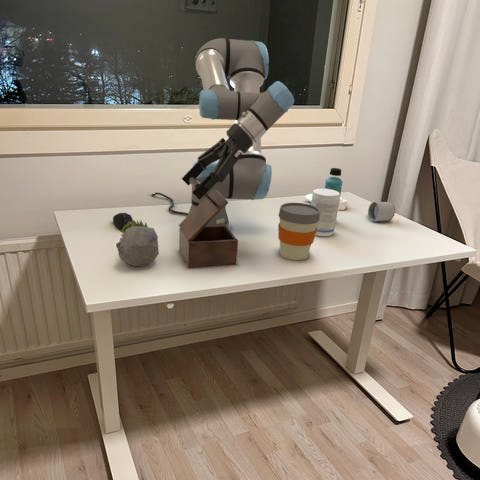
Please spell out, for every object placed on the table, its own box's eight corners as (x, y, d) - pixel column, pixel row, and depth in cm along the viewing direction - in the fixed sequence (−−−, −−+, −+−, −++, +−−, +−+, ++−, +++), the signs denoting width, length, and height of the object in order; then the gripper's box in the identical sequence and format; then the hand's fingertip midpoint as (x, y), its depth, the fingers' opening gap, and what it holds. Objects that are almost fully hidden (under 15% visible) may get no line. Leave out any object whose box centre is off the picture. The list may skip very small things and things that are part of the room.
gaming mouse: (119, 235, 156) (118, 223, 154) (111, 220, 168) (110, 209, 166) (138, 233, 158) (138, 222, 156) (129, 219, 170) (129, 208, 168)
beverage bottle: (317, 223, 181) (326, 169, 170) (319, 217, 186) (327, 165, 176) (335, 225, 180) (344, 171, 169) (336, 220, 185) (345, 167, 175)
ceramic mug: (394, 223, 187) (398, 203, 183) (376, 224, 184) (380, 204, 181) (379, 215, 195) (383, 196, 192) (361, 215, 193) (365, 196, 189)
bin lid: (216, 189, 142) (195, 167, 136) (228, 202, 131) (206, 179, 126) (180, 226, 144) (158, 206, 139) (189, 242, 134) (166, 221, 128)
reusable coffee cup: (282, 263, 145) (288, 215, 138) (268, 247, 156) (273, 202, 148) (319, 261, 149) (327, 214, 141) (304, 246, 159) (310, 202, 151)
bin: (224, 248, 152) (225, 225, 148) (236, 264, 142) (238, 240, 138) (179, 251, 148) (179, 227, 144) (188, 268, 138) (188, 242, 134)
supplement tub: (339, 235, 171) (346, 194, 163) (319, 238, 166) (326, 197, 159) (321, 226, 178) (327, 187, 170) (301, 229, 173) (307, 189, 165)
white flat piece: (300, 199, 206) (326, 196, 213) (325, 212, 193) (353, 208, 200) (301, 191, 205) (327, 189, 211) (327, 203, 192) (354, 200, 198)
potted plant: (114, 263, 129) (97, 231, 137) (145, 280, 140) (128, 249, 148) (144, 231, 127) (125, 201, 135) (174, 251, 137) (154, 222, 145)
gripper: (223, 114, 137) (172, 168, 141) (251, 130, 117) (190, 192, 120) (239, 134, 142) (189, 185, 145) (269, 153, 121) (210, 212, 125)
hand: (190, 188), depth 133 cm, fingers open, 13 cm apart
